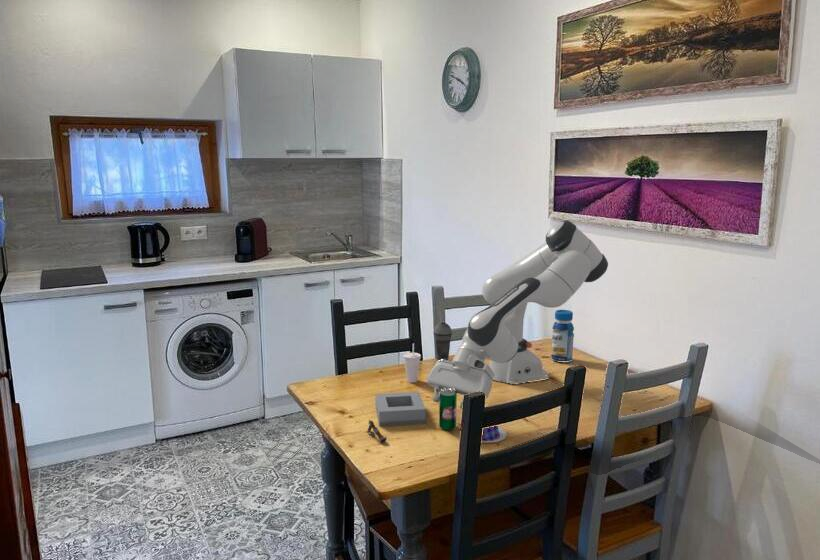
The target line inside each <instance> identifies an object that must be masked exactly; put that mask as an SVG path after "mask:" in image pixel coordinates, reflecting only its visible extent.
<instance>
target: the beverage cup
mask: <svg viewBox="0 0 820 560" xmlns="http://www.w3.org/2000/svg"><path fill="white" fill-rule="evenodd" d="M438 313H439V320H440V322H439V323H437V324H436V326H435V327H434V329H433V337H434V344H435V347H434V348H435V357H436V358H435V359H436V362H437V361H439V360H441V359H445V360H449V357H450V348H451V347H450V346H451V339H452V335H453V332H452V328H451V326H450V324H448V323H446V322H443V321H442V320H443V319H442V312H441V311H439V312H438ZM440 362H441V361H440Z"/></svg>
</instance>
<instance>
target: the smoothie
mask: <svg viewBox="0 0 820 560" xmlns="http://www.w3.org/2000/svg"><path fill="white" fill-rule="evenodd" d="M402 357H403V361H404V367H405V375H406V381H407V382H408V383H413V384H414V383H417V382H418V379H419V378H418V377H419V371H420V364H421V363H420V362H421V361H420V360H421V359H422V355H421V354H420V353H418V352H415V343H412V352H406V353H404V354H403V355H402Z"/></svg>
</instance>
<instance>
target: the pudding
mask: <svg viewBox="0 0 820 560" xmlns="http://www.w3.org/2000/svg"><path fill="white" fill-rule="evenodd" d="M507 433H508V432H507V431H506V430H505V429H503V428H502V427H500V426H499V425H498V426H494V427H489V428H484V429H483V435H482V440H481V441H482V442H481V443H486V444H487V443H497V442H498V443H499V442H501V441H503V440H505V439H506V438H507V436H508V435H507Z"/></svg>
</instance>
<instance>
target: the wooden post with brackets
mask: <svg viewBox="0 0 820 560" xmlns="http://www.w3.org/2000/svg"><path fill="white" fill-rule="evenodd" d="M366 433H368V434H369V435H370V436H371V437H372V438H376V436H377V438H378V439H379V444H381V443H385V442H386V441H387V439H388V438H387V436H384V435H383V434H382V433H381V432H380V430H379V429H378V427H377V426H376V425H375V422H374V421H373V420H369V419H368V428H367V431H366Z"/></svg>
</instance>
